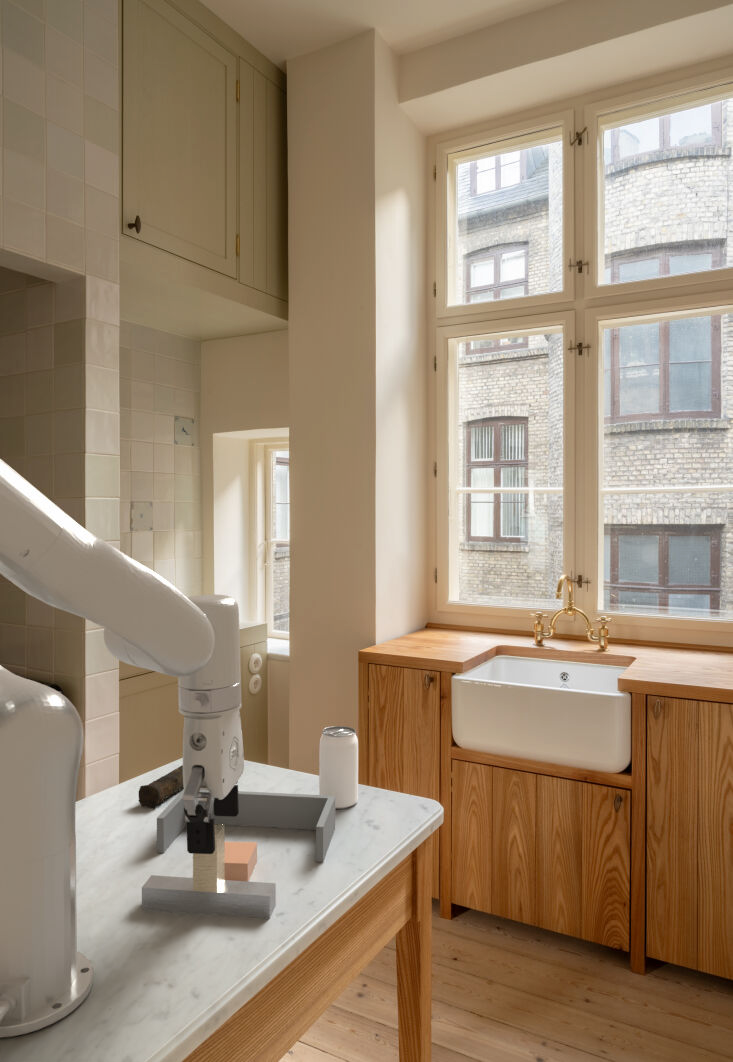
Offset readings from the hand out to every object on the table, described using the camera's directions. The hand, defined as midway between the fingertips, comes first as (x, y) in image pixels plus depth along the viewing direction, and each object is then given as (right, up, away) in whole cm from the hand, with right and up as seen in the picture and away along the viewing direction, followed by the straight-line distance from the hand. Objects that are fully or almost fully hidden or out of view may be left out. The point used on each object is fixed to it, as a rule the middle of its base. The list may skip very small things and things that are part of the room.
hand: (214, 833), depth 91 cm
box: (+1, -8, +18) cm, 20 cm away
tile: (0, -9, +9) cm, 13 cm away
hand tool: (-14, -8, +38) cm, 42 cm away
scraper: (-1, -9, 0) cm, 9 cm away
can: (+14, -8, +32) cm, 36 cm away
